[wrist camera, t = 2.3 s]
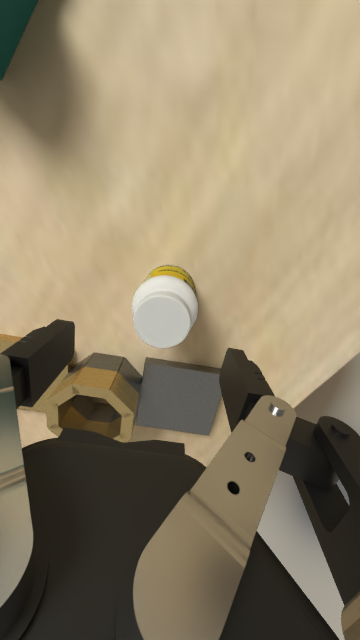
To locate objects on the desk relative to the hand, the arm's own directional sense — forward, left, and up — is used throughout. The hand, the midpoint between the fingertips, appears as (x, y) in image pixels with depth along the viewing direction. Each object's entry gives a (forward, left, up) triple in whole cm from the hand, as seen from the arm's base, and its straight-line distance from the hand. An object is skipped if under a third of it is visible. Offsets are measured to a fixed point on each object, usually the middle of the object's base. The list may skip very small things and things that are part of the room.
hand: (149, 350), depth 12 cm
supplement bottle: (0, 0, -14) cm, 14 cm away
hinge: (+6, +14, -14) cm, 20 cm away
